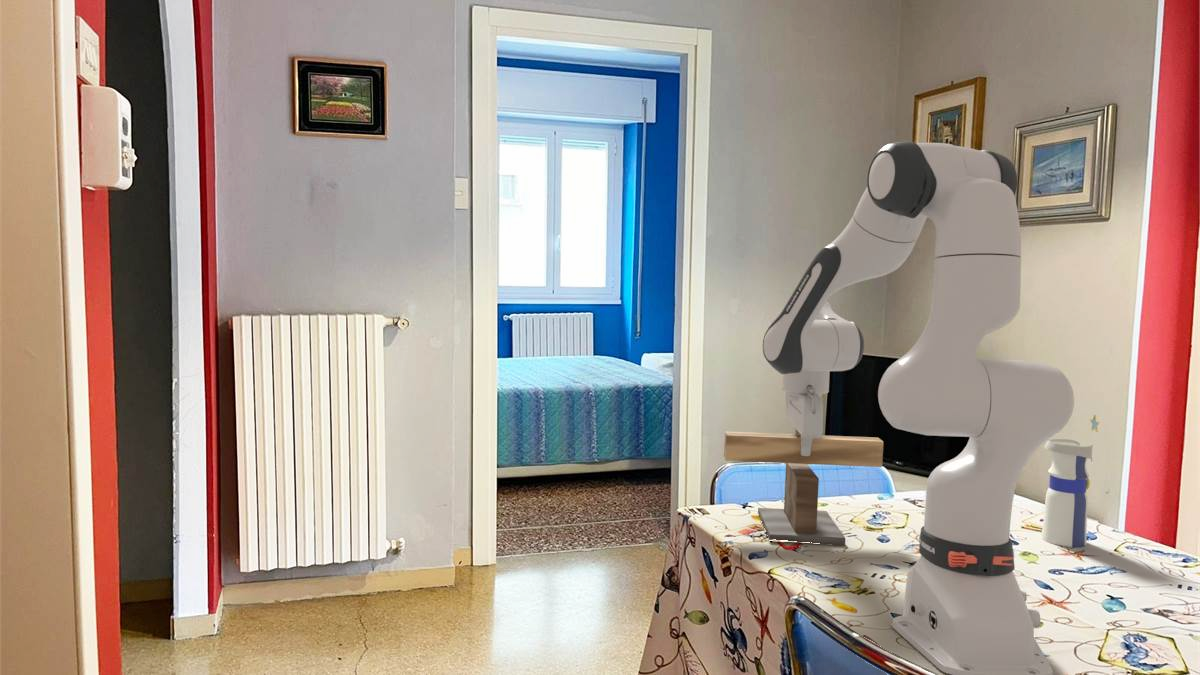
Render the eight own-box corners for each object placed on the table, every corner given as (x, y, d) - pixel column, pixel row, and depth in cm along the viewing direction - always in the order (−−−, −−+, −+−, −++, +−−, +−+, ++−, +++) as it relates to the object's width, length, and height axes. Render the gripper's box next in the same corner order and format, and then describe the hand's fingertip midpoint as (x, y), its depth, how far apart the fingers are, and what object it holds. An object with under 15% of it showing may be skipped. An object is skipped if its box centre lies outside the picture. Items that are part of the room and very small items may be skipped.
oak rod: (882, 467, 162) (883, 441, 162) (725, 460, 164) (726, 435, 164) (876, 462, 166) (878, 437, 165) (724, 456, 168) (725, 431, 168)
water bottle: (1063, 532, 169) (1071, 409, 167) (1098, 545, 160) (1107, 416, 159) (1029, 534, 167) (1037, 410, 165) (1063, 548, 158) (1072, 417, 156)
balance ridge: (845, 545, 157) (848, 482, 156) (769, 542, 157) (771, 479, 157) (825, 518, 174) (828, 461, 174) (757, 514, 175) (760, 458, 174)
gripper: (833, 390, 153) (829, 465, 154) (812, 376, 174) (809, 442, 175) (798, 389, 154) (794, 463, 155) (781, 375, 174) (779, 441, 175)
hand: (802, 452), depth 165 cm, fingers closed on oak rod, 4 cm apart
